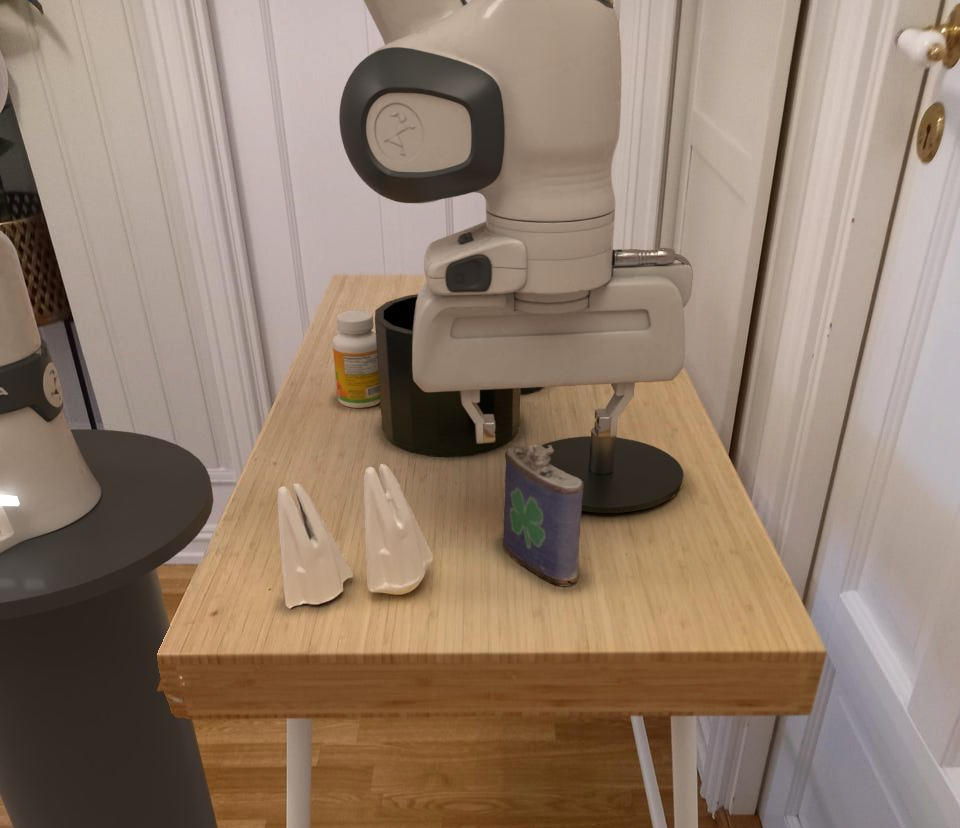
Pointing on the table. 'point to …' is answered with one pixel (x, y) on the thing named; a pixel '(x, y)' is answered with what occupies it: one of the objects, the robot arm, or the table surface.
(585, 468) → the lid
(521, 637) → the table surface
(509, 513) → the flask
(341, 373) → the supplement bottle
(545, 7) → the robot arm
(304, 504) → the shaker set
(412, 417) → the tin
